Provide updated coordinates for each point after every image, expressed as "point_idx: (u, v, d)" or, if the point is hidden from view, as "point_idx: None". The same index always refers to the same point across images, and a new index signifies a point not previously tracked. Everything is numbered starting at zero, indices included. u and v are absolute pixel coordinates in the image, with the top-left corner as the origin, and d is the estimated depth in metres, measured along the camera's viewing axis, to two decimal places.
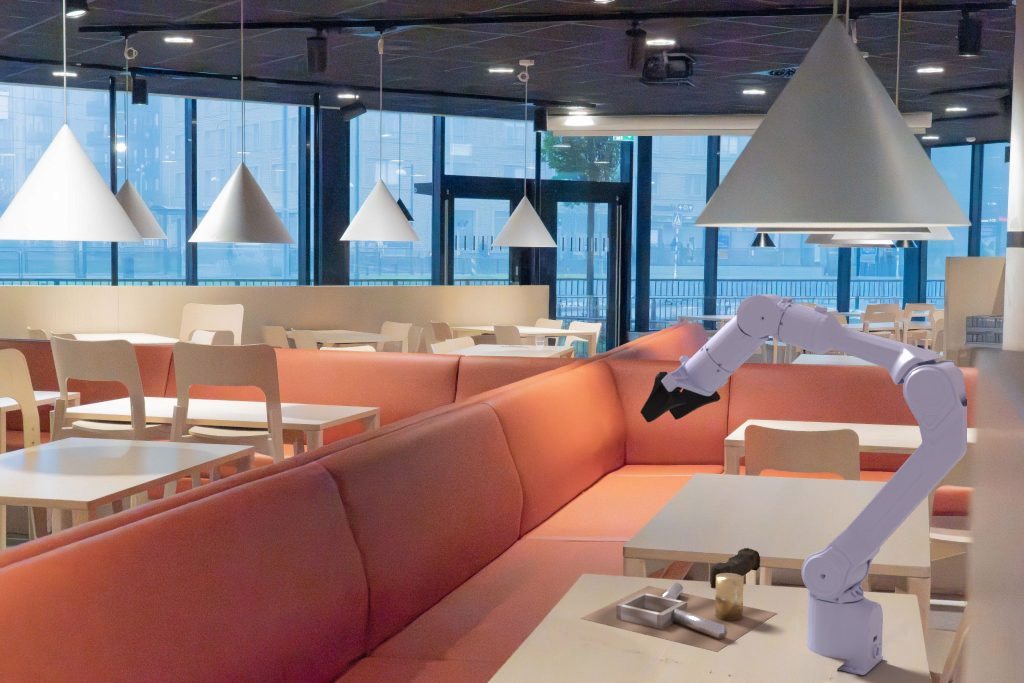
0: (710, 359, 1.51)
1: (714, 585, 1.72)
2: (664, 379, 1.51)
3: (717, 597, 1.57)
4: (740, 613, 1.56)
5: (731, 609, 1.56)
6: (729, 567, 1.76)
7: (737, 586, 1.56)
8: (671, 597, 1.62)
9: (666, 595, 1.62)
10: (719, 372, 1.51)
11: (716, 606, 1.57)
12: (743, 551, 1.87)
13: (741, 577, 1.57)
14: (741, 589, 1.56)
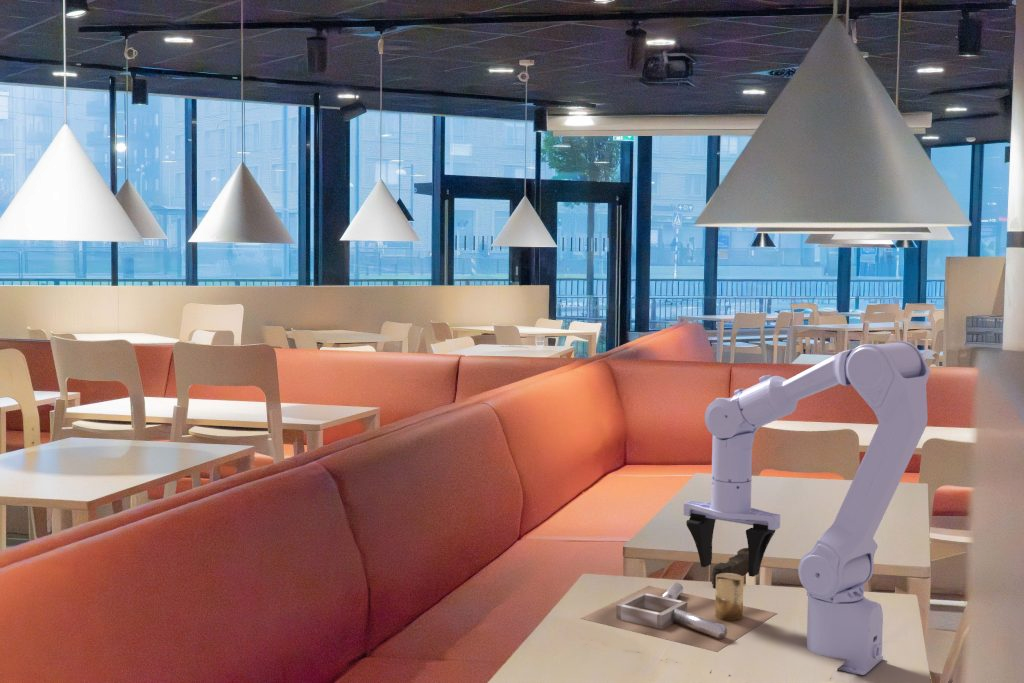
0: None
1: None
2: None
3: (717, 597, 1.57)
4: (740, 613, 1.56)
5: (731, 609, 1.56)
6: (730, 567, 1.75)
7: (737, 586, 1.56)
8: (671, 597, 1.62)
9: (666, 595, 1.62)
10: (713, 484, 1.56)
11: (716, 606, 1.57)
12: (743, 551, 1.87)
13: (741, 577, 1.57)
14: (741, 589, 1.56)
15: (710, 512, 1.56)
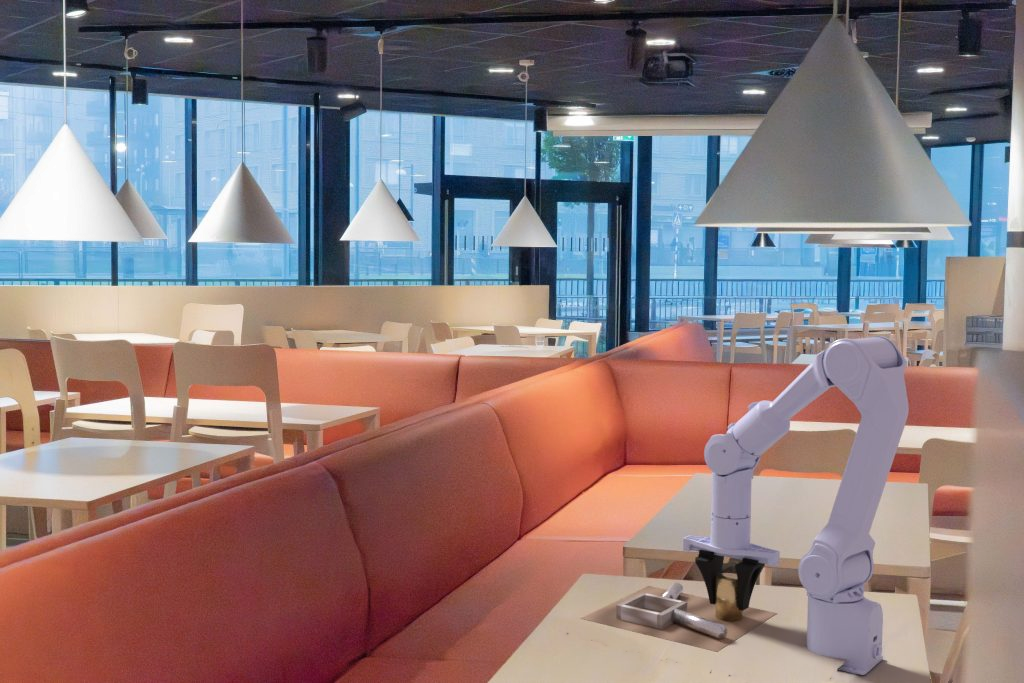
0: None
1: None
2: None
3: (717, 597, 1.57)
4: (740, 613, 1.56)
5: (731, 609, 1.56)
6: (732, 567, 1.75)
7: (737, 586, 1.56)
8: (671, 597, 1.62)
9: (666, 595, 1.62)
10: (713, 520, 1.56)
11: (716, 606, 1.57)
12: None
13: None
14: None
15: (709, 548, 1.56)
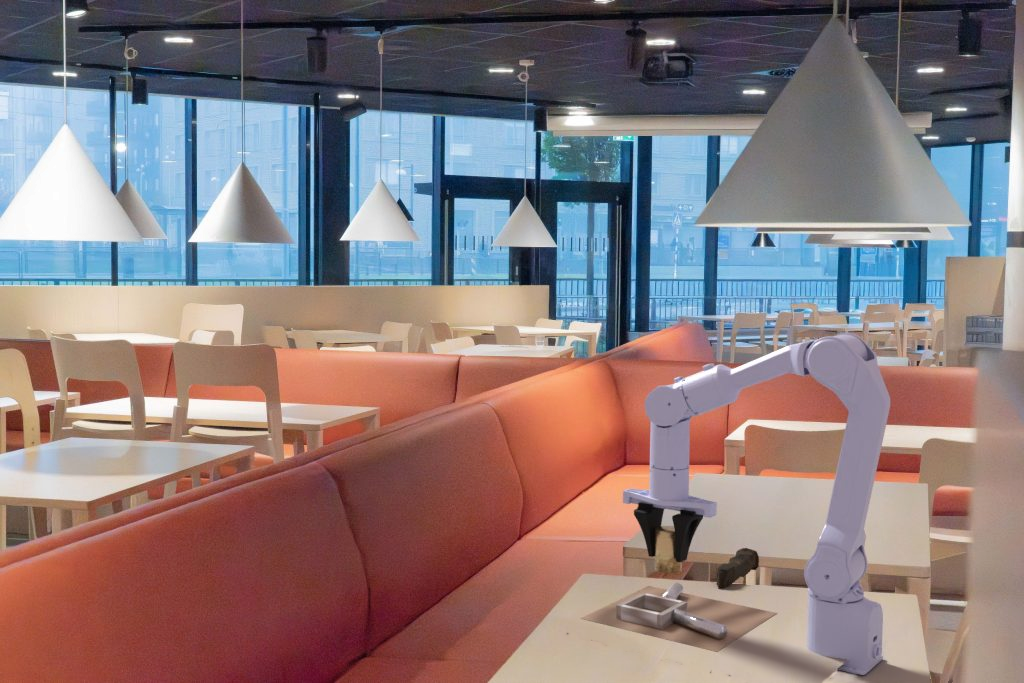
0: None
1: (721, 586, 1.72)
2: None
3: (655, 549, 1.57)
4: (678, 565, 1.56)
5: (669, 561, 1.55)
6: (734, 568, 1.75)
7: (675, 538, 1.55)
8: (671, 597, 1.62)
9: (666, 595, 1.62)
10: (651, 472, 1.56)
11: (655, 558, 1.57)
12: (742, 551, 1.87)
13: None
14: None
15: (648, 500, 1.56)
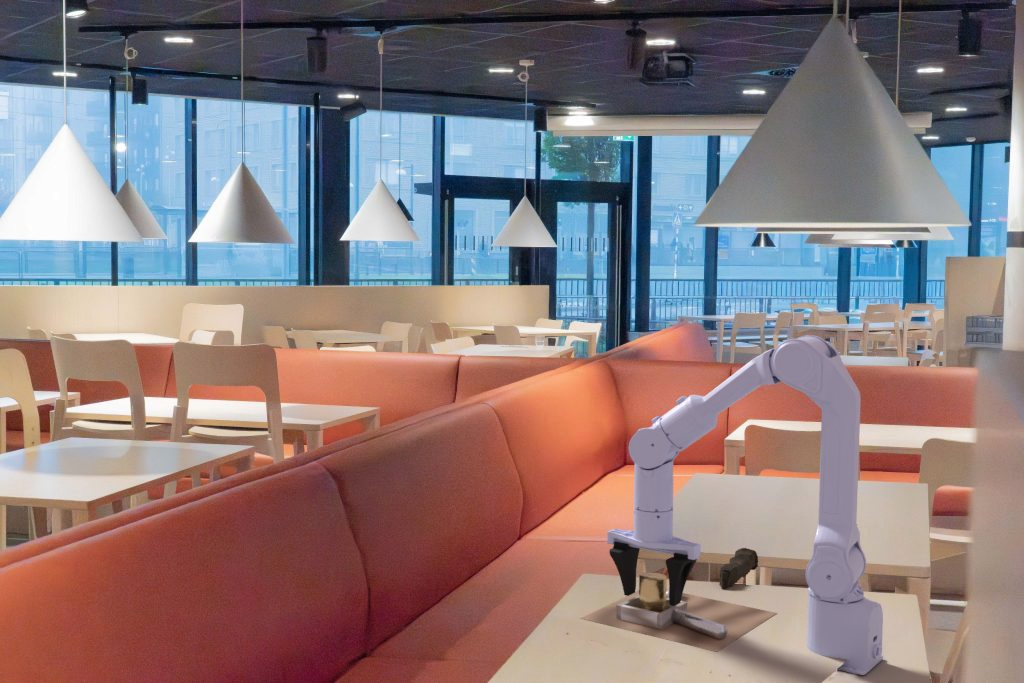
0: None
1: (725, 587, 1.72)
2: None
3: (640, 596, 1.57)
4: None
5: (653, 609, 1.56)
6: (737, 568, 1.75)
7: (659, 586, 1.56)
8: None
9: None
10: (635, 513, 1.56)
11: (639, 605, 1.58)
12: (741, 551, 1.87)
13: (664, 577, 1.57)
14: (663, 589, 1.56)
15: (632, 541, 1.56)
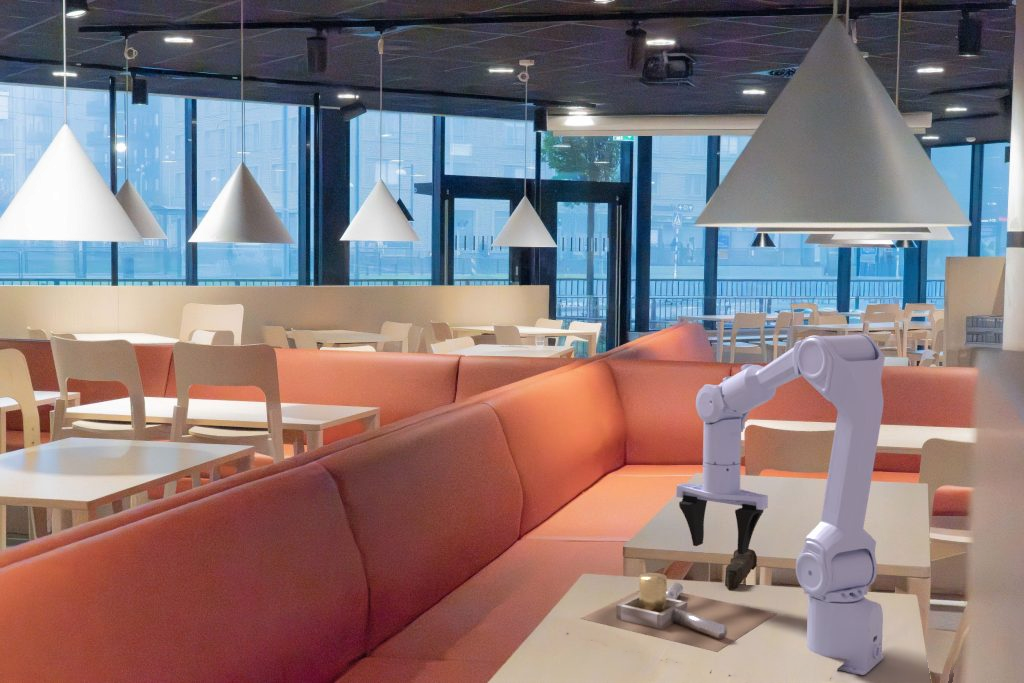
0: None
1: (731, 587, 1.71)
2: None
3: (640, 596, 1.57)
4: None
5: (653, 609, 1.56)
6: (741, 568, 1.75)
7: (659, 586, 1.56)
8: (671, 597, 1.62)
9: None
10: (704, 467, 1.64)
11: (639, 605, 1.58)
12: None
13: (664, 577, 1.57)
14: (663, 589, 1.56)
15: (701, 493, 1.65)
